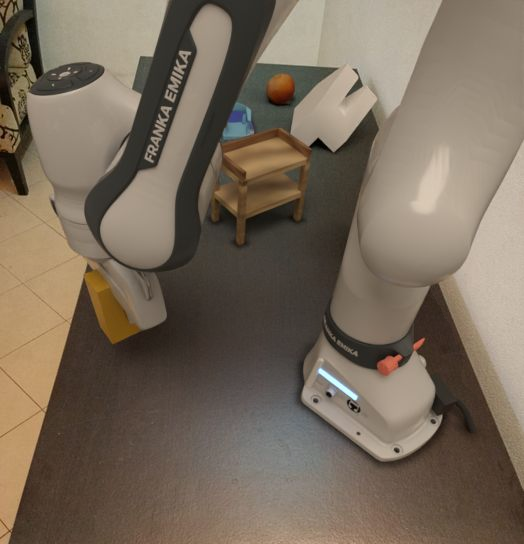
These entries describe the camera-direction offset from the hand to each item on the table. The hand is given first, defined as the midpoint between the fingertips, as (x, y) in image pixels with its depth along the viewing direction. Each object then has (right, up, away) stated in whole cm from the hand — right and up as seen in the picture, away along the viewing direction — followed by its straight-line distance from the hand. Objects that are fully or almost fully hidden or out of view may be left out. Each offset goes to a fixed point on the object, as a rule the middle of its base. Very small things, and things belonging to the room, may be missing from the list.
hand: (124, 307), depth 65 cm
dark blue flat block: (+12, +53, +58) cm, 80 cm away
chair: (+12, +40, +48) cm, 63 cm away
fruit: (+24, +65, +69) cm, 98 cm away
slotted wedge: (+36, +49, +57) cm, 84 cm away
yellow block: (0, -2, +3) cm, 4 cm away
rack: (+18, +21, +33) cm, 43 cm away
